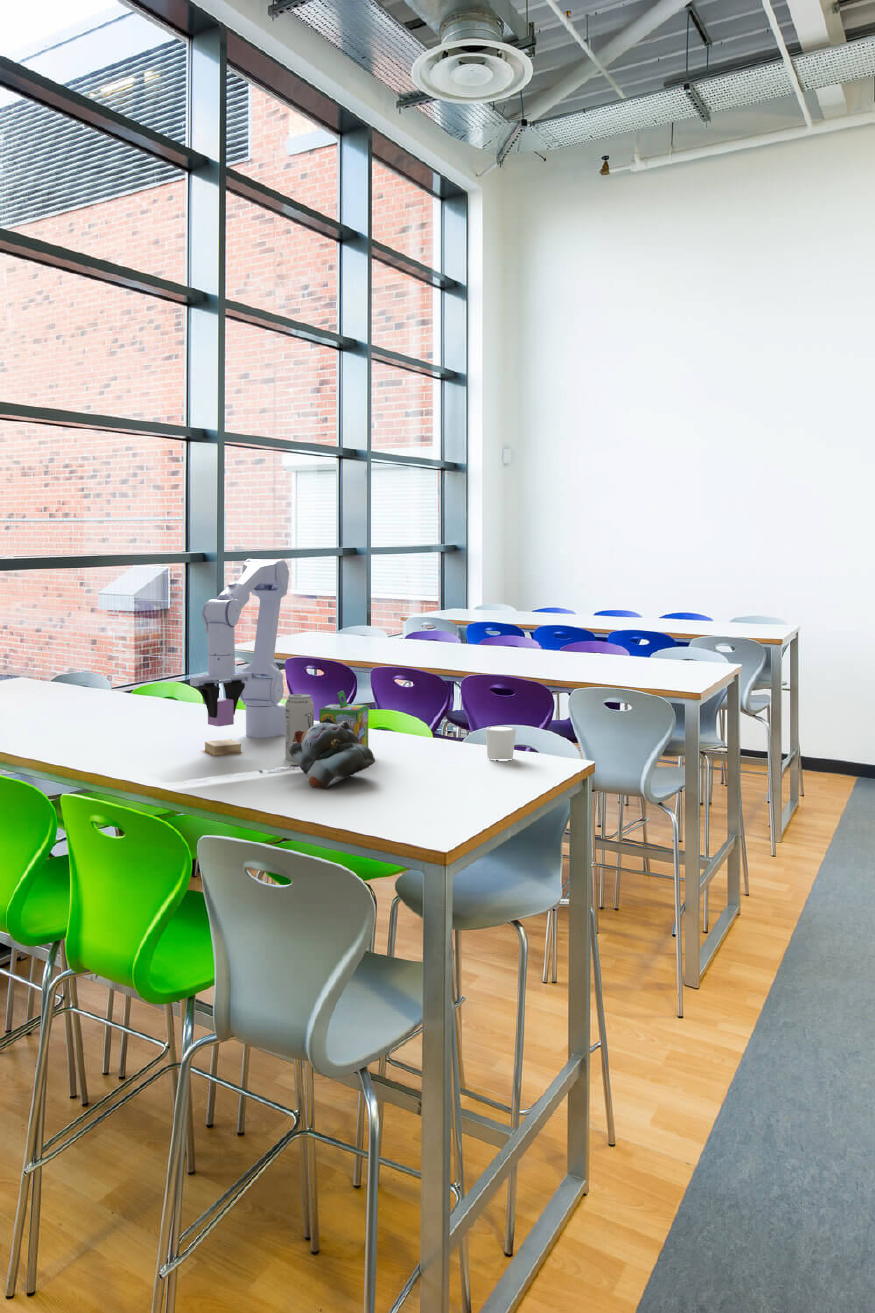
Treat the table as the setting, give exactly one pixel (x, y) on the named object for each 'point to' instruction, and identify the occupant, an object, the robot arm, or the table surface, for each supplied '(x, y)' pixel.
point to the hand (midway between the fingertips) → (221, 716)
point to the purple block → (223, 713)
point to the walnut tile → (216, 755)
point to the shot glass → (500, 742)
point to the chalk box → (348, 717)
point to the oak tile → (222, 747)
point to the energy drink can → (297, 718)
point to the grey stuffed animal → (329, 753)
